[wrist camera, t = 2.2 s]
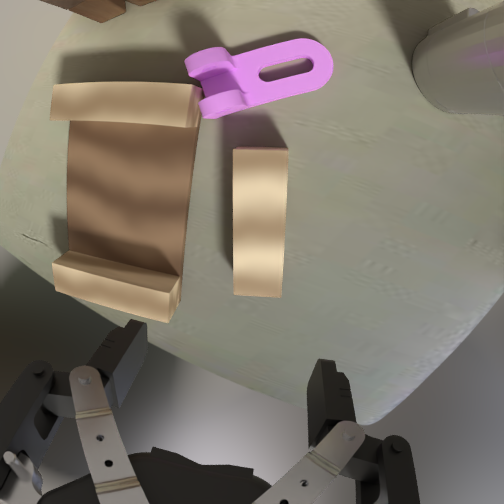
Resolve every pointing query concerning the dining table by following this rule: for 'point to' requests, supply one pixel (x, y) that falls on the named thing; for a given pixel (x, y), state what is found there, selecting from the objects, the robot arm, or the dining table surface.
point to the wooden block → (96, 7)
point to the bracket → (255, 75)
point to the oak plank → (259, 219)
